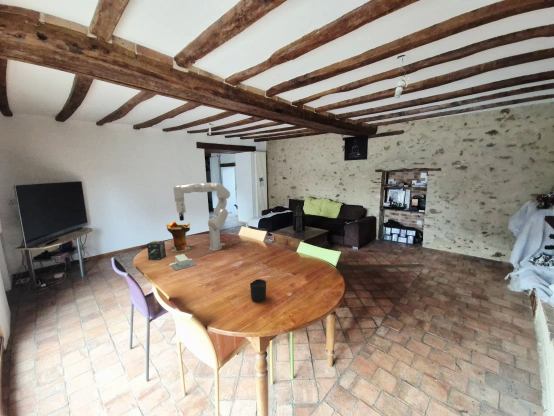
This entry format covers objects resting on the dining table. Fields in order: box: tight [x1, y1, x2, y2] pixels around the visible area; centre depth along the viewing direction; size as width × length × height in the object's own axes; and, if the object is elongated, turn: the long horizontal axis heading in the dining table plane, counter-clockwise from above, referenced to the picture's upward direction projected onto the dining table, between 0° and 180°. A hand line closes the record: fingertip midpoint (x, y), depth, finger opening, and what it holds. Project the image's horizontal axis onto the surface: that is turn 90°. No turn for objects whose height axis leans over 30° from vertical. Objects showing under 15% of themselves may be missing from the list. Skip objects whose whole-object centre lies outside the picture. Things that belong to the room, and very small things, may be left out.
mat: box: [171, 260, 197, 272], centre depth 184 cm, size 16×12×1 cm
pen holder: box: [249, 278, 267, 303], centre depth 133 cm, size 9×9×10 cm
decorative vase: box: [166, 221, 191, 253], centre depth 222 cm, size 21×23×28 cm
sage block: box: [174, 253, 190, 267], centre depth 185 cm, size 7×5×12 cm
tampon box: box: [146, 240, 167, 261], centre depth 201 cm, size 11×9×15 cm
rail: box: [169, 258, 193, 268], centre depth 189 cm, size 18×2×2 cm, turn 130°
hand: (181, 220), depth 198 cm, fingers closed
